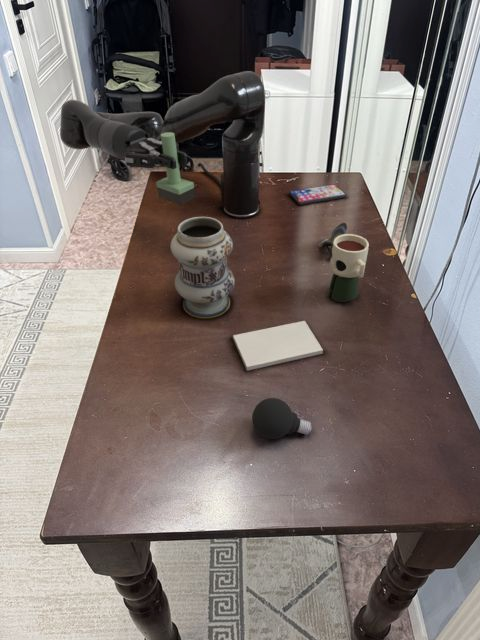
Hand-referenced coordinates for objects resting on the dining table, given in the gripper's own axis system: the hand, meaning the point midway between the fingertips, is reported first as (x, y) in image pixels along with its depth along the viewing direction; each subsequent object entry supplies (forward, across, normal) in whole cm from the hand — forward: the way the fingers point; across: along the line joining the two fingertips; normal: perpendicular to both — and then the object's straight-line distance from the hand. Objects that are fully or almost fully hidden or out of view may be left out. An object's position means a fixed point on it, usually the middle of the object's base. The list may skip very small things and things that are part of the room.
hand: (180, 161), depth 103 cm
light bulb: (+48, +30, -22) cm, 61 cm away
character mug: (+38, -8, -22) cm, 44 cm away
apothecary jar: (+17, +13, -22) cm, 30 cm away
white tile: (+36, +14, -22) cm, 44 cm away
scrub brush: (-2, 0, -9) cm, 9 cm away
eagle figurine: (+27, -22, -22) cm, 41 cm away
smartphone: (+9, -44, -22) cm, 50 cm away
